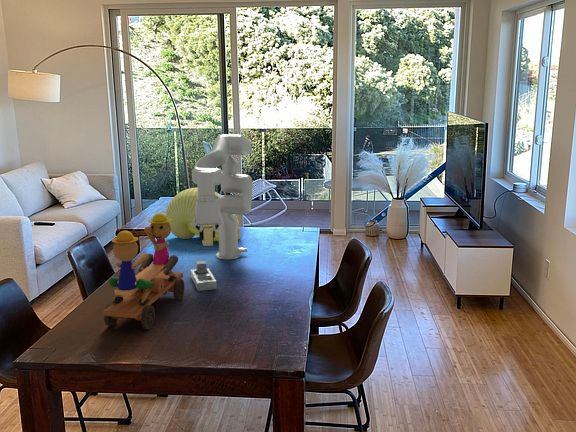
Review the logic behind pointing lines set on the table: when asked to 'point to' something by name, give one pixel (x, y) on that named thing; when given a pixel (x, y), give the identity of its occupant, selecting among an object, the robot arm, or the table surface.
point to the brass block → (207, 235)
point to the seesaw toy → (143, 275)
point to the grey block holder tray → (203, 280)
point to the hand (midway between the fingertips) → (207, 239)
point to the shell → (187, 215)
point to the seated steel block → (201, 267)
